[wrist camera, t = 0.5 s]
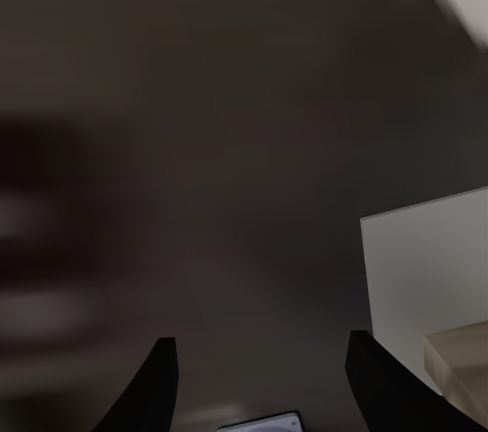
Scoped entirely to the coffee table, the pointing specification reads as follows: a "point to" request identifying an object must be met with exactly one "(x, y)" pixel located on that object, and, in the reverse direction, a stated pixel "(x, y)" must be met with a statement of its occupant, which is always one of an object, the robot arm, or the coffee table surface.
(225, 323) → the coffee table surface
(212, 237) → the coffee table surface
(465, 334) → the wooden block
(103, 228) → the coffee table surface
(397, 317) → the grey mat
